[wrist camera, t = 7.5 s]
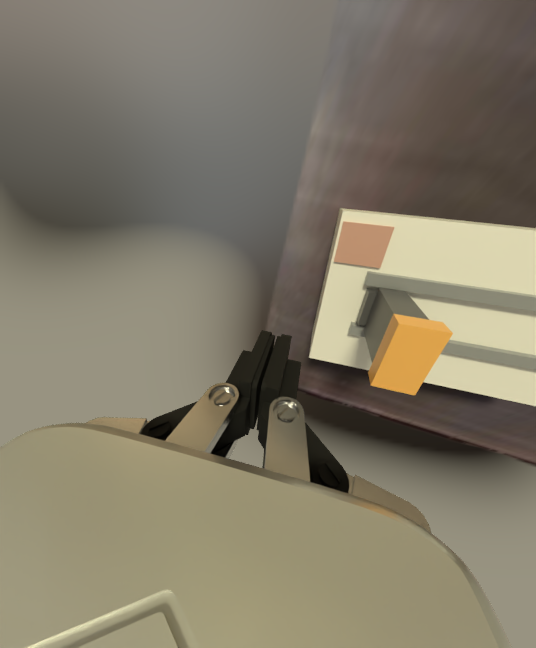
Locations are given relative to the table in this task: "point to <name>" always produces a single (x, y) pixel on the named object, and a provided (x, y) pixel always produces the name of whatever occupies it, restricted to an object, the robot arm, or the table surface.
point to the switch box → (438, 296)
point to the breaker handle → (399, 340)
